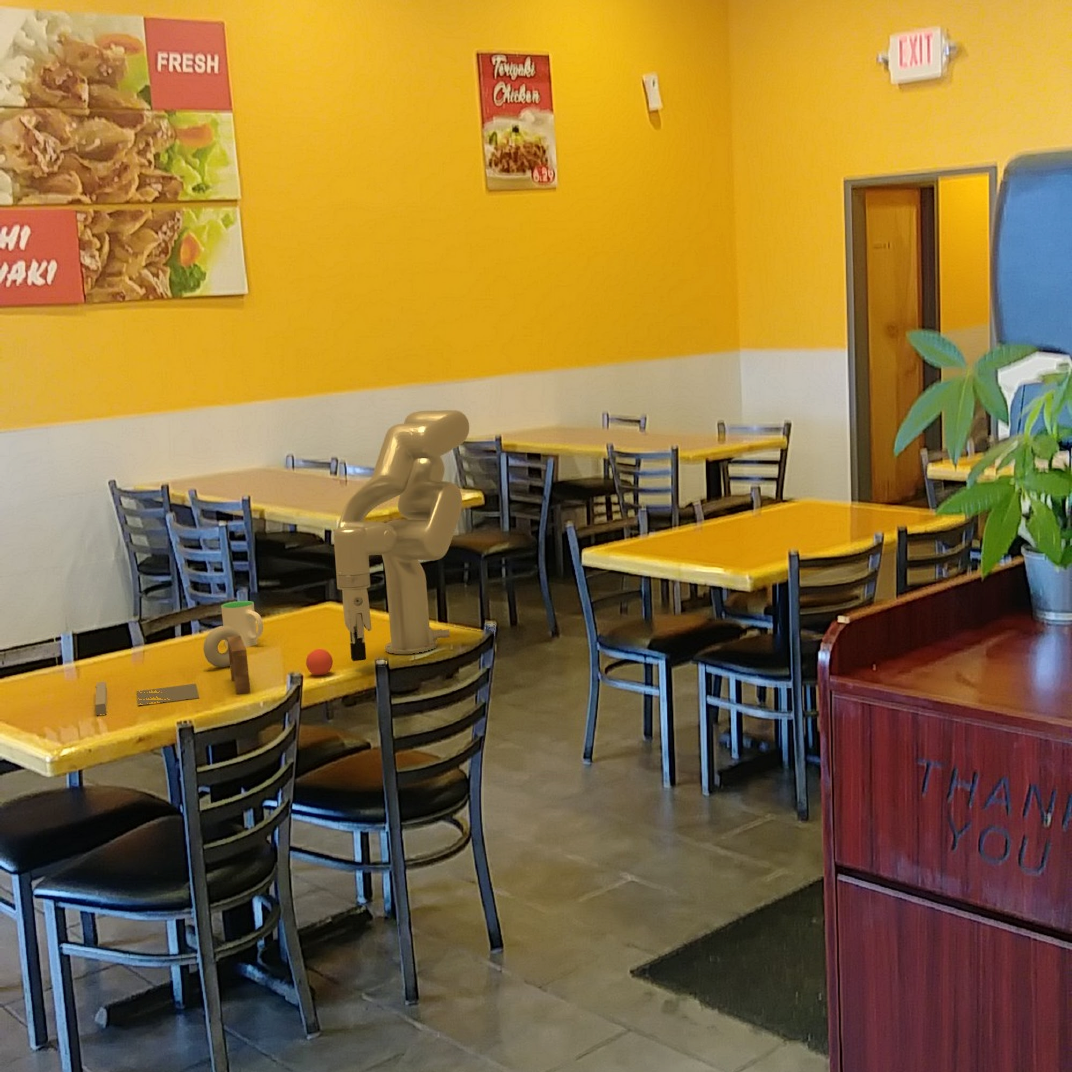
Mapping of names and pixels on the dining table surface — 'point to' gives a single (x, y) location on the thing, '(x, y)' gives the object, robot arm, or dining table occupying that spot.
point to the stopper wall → (101, 698)
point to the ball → (319, 662)
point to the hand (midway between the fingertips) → (358, 659)
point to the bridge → (238, 664)
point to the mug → (243, 621)
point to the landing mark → (169, 694)
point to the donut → (213, 642)
